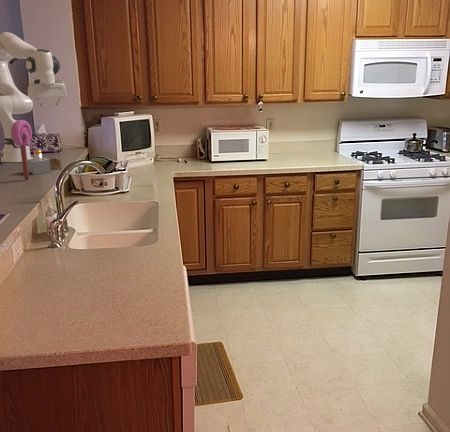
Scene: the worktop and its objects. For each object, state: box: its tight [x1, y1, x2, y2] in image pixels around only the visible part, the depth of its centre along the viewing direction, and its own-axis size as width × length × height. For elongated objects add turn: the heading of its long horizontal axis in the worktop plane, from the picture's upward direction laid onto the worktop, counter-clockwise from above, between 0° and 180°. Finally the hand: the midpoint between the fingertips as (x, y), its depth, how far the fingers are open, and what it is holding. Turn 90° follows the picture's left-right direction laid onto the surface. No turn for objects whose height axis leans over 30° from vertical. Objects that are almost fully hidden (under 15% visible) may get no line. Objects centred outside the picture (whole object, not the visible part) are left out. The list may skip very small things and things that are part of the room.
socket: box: [27, 157, 52, 175], centre depth 267 cm, size 9×9×7 cm
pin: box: [33, 149, 43, 161], centre depth 267 cm, size 4×4×12 cm
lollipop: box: [11, 119, 33, 181], centre depth 245 cm, size 13×8×30 cm, turn 167°
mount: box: [48, 158, 62, 171], centre depth 277 cm, size 7×7×5 cm
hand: (48, 106), depth 272 cm, fingers open, 8 cm apart
